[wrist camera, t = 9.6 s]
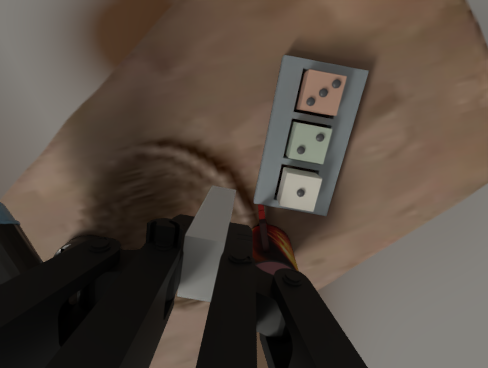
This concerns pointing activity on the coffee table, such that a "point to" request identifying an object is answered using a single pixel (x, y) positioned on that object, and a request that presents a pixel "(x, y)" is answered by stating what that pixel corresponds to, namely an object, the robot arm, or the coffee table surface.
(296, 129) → the key two
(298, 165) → the keypad board
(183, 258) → the robot arm
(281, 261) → the mug
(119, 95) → the coffee table surface
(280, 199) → the key one
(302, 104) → the key three
